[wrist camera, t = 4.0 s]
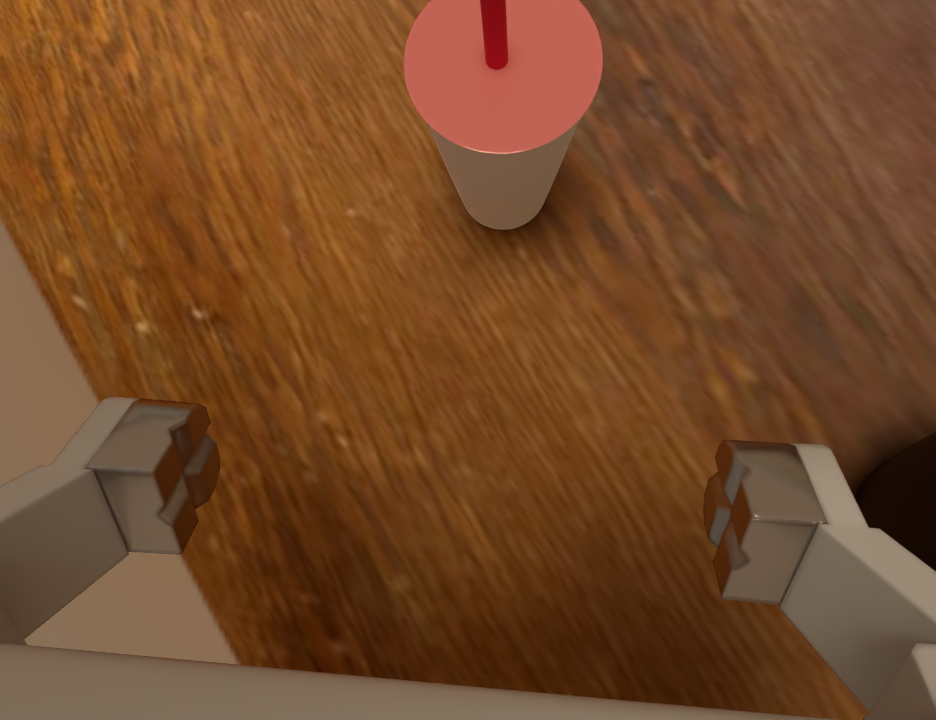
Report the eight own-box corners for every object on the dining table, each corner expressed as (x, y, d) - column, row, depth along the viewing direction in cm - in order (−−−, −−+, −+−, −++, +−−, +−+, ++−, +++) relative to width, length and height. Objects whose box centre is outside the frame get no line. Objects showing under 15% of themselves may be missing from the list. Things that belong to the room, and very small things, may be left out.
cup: (423, 141, 28) (364, -95, 16) (554, 112, 28) (589, -147, 16) (451, 267, 27) (409, 115, 15) (586, 237, 27) (647, 61, 15)
